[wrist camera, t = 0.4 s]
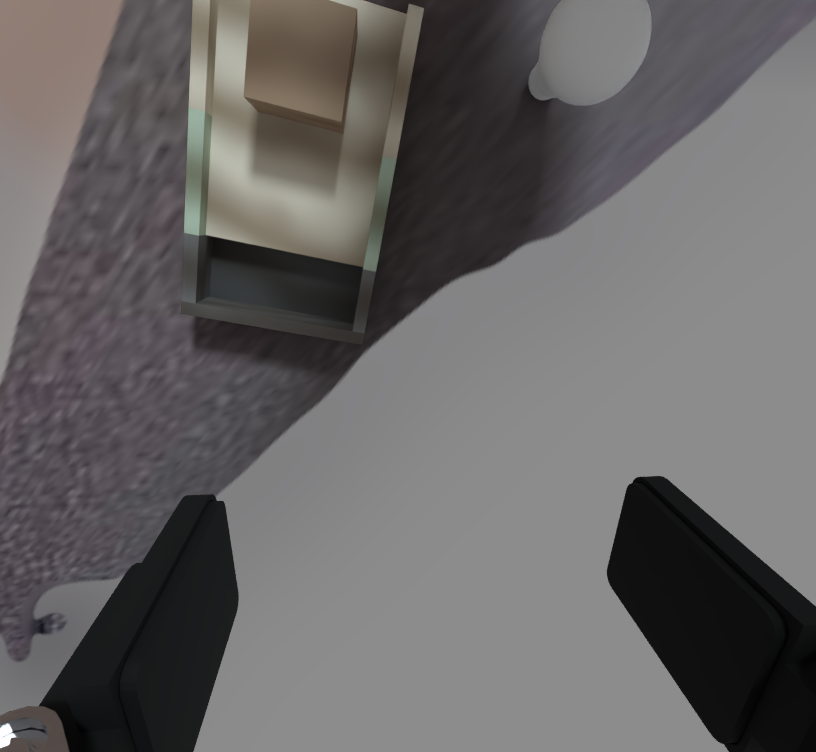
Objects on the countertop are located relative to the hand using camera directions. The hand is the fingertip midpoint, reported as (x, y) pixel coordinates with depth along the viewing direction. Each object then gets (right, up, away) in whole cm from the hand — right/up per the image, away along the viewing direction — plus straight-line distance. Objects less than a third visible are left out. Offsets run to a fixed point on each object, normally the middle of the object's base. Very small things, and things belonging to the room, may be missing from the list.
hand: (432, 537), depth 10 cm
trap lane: (-9, +19, +24) cm, 32 cm away
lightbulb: (+10, +26, +23) cm, 36 cm away
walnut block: (-8, +25, +20) cm, 32 cm away
